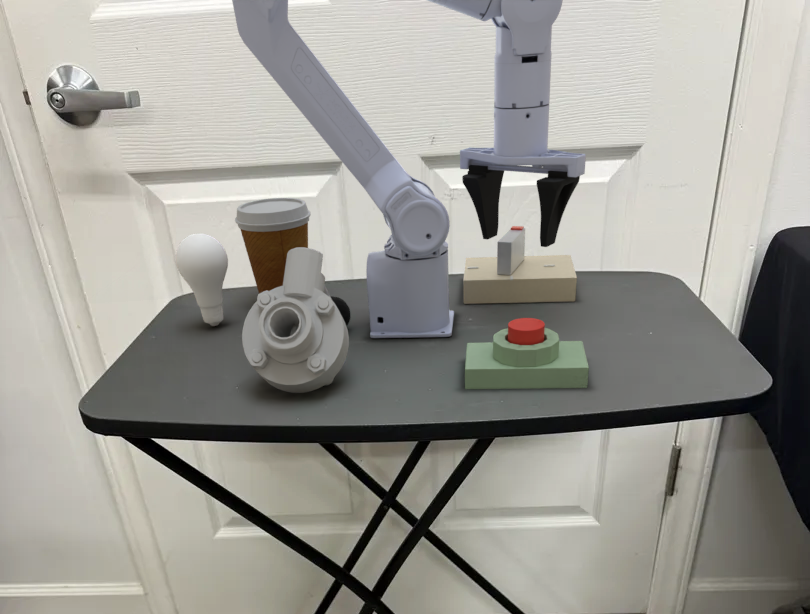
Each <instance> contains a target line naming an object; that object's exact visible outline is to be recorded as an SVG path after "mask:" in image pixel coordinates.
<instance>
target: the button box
mask: <svg viewBox="0 0 810 614" xmlns="http://www.w3.org/2000/svg"><path fill="white" fill-rule="evenodd" d="M492 337H493V338H492V342H466V350H465V362H464V363H465V364H464V389H465V390H507V389H508V390H509V389H511V390H512V389H513V390H514V389H515V390H516V389H517V390H518V389H519V390H521V389H523V390H524V389H587V388H588V384H589V383H588V382H589V370H590V367H589V362H588V357H587V354H586V350H585V346H584V342H583V340H565V341H564V340H560V335H559V334H558V333H557V332H555V331H554V330H552V329H550V328H547V327H545V331H544V342H543V343H539V344H535V345H517V344H512V343H509V342H508V327H507V328H502V329H500V330H499V331H497V332H496V333H494V334H493V335H492Z"/></svg>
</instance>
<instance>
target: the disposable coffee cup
mask: <svg viewBox="0 0 810 614" xmlns="http://www.w3.org/2000/svg"><path fill="white" fill-rule="evenodd" d="M310 217H311V211H310V210H309V209H308V205H307V202H306V201H305V200H304V199H301V198H295V197H271V198H262V199H255V200H252V201H247V202H245V203H241V204H240V205H238V206H237V207H236V217H234V222H235V223H236V224H237V227H238V228H239V229H240V232H241V236H242V239H243V243H244V247H245V251H246V254H247V257H248V260H249V264H250V267H251V270H252V274H253V278H254V281H255V285H256V288H257V292H258V294H260V293H262V292H263V291H266V290H267V291H270V290H272V289H274V288H276V287H280V286H283V280H284V273H285V266H286V259H287V253H288V251H289V250H291V249H294V248H297V247H305V248H309V221H310Z"/></svg>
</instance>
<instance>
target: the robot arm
mask: <svg viewBox="0 0 810 614" xmlns="http://www.w3.org/2000/svg"><path fill="white" fill-rule="evenodd" d="M426 1H427V2H431V3H432V4H435V5H439V6H441V7H443V8H447V9H449V10H452V11H455V12H457V13H460V14H463V15H464V16H468V17H470V18H474V19H476V20H480V21H481V22H487V21H489V20H491V22H492V24H493V25H494V26H495V53H494V60H493V61H494V66H493V68H494V72H493V74H494V75H493V78H494V79H493V82H494V83H493V84H494V85H493V87H494V88H493V95H494V96H493V101H494V102H493V147H466V148H463V149H460V150H459V168H460V170H468V171H467V174H463V175H462V177H461V178H462V179H461V180H462V185H463V186H464V187H465V189H466V191H467V192H468V195H469V197H470V199H471V201H472V203H473V206H474V208H475V212H476V216H477V218H478V222H479V227H480V230H481V235H482V239H483V240H490V239H492V238H494V237H497V236H498V232H499V218H500V217H499V213H500V212H499V209H500V207H499V206H500V197H501V196H500V195H501V189H502V183H503V179H504V173H505V172H516V173H517V172H518V173H529V174H530V173H531V174H542V175H543V174H544V175H547V176H545V177H541V178H540V179H537V180H536V189H537V193H538V199H539V210H540V224H539V225H540V226H539V227H540V228H539V242H540V247H542V248H548V247H550V246H552V245H554V244H555V243H556V240H557V236H558V231H559V227H560V226H561V225H560V224H561V221H562V218H563V215H564V213H565V210H566V207H567V205H568V203H569V201H570V199H571V197H572V195H573V193H574V190H575V189H576V187H577V186H578V184H579V183H580V178H581V176H583V175H585V174H586V173H585V172H586V160H587V159H586V158H587V157H586V156H587V154H586V153H579V152H578V153H577V152H569V151H563V150H557V149H550V148H548V147H549V146H548V144H549V124H550V123H549V121H550V100H551V99H550V98H551V77H552V76H551V73H552V54H553V53H552V35H553V34H552V33H553V24H554V23H555V22H556V20H557V19H558V17H559V16H560V15H559V14H560V12H561V9H562V5H563V0H426ZM231 2H232V6H233V13H234V17H235V18H234V19H235V22H236V27H237V32H238V35H239V37H240V38H241V40H242V42H243V44H244V45H245V46H246V47H247V49H248V50H249V51H250V52H251V54H252V55H253V56H254V57H255V58H256V60H257V61H258V62H259V63H260V64H261V65H262V67H263V68H264V70H265V71H266V72H267V73H268V74H269V76H271V78H272V79H273V81H274V82H276V84H277V85H278V86H279V87H280V88H281V90H282V91H283V93H285V95H286V96H287V97H288V98H289V99H290V101H291V102H292V103H293V104H294V105H295V107H296V108H297V109H298V110H299V111H300V113H301V114H302V115H303V117H304V118H305V119H306V120H307V121H308V123H309V124H310V125H311V126H312V127H313V128H314V130H315V131H316V132H317V133H318V135H319V136H320V137H321V138H322V139H323V141H324V142H325V143H326V145H328V147H329V148H330V149H331V150H332V152H333V153H334V154H335V155H336V157H337V158H338V159H339V161H341V163H342V164H343V165H344V166H345V167H346V169H347V170H348V171H349V172H350V174H352V176H353V177H354V178H355V179H356V181H357V182H358V183H359V184H360V185H361V187H362V188H363V189H364V191H365V192H366V193H367V195H368V196H369V197H370V199H371V200H372V201H373V203H374V204H375V206H376V207H377V209H378V210H379V211H380V212H381V213H382V216H383V219H384V221H385V224H386V226H387V227H388V229H389V230H390V233H391V234H390V235H389V237H388V239H387V241H386V243H384V246H383V250H378V251H369V253H368V254H367V256H366V257H367V258H366V271H365V272H366V273H365V275H366V290H367V303H368V316H369V327H370V333H369V338H371V339H402V338H404V339H410V338H413V339H414V338H449V337H451V336H452V334H453V328H454V319H455V311H454V310H452V309H451V310H450V282H449V281H450V280H449V279H450V278H449V277H450V276H449V274H450V273H449V243H448V242H447V241H446V240H447V239H448V235H449V232H450V226H451V225H450V222H451V221H450V216H449V213H448V210H447V209H446V207H445V204H443V203H442V201H441V200H439V199H438V197H436V195H435V193H434V191H433V190H432V188H431V187H430V186H429V185H428V184H427V183H425V182H424V181H422V180H421V179H417V178H414V177H413V176H411V174H409V173H408V172H407V171H406V170H405V168H404V167H403V165H402V164H401V163H400V162H399V161H398V159H397V158H396V156H394V155H393V153H392V152H391V151H390V150H389V148H388V147H387V145H386V144H385V143H384V141H383V140H382V139H381V138H380V137H379V135H378V134H377V133H376V131H375V130H374V128H372V126H371V125H370V124H369V122H368V121H367V120H366V119H365V118H364V116H363V115H362V113H361V112H360V111H359V110H358V108H357V107H356V105H354V104H353V102H352V101H351V99H350V98H349V97H348V96H347V94H346V93H345V92H344V91H343V89H342V88H341V87H340V86H339V84H338V83H337V82H336V80H335V79H334V78H333V76H332V75H331V74H330V73H329V72H328V69H326V68H325V66H324V65H323V64H322V63H321V61H320V60H319V59H318V57H317V56H316V55H315V54H314V52H313V51H312V50H311V48H310V47H309V46H308V45H307V44H306V43H307V42H305V41H304V39H303V38H302V37H301V36H300V34H299V33H298V32H297V31H296V29H295V28H294V27H293V26H292V24H291V23H290V21H289V16H288V15H289V0H231Z"/></svg>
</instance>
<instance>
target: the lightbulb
mask: <svg viewBox="0 0 810 614" xmlns="http://www.w3.org/2000/svg"><path fill="white" fill-rule="evenodd" d="M174 257H175V259H174V260H175V261H174V262H175V265H176V269H177V271H178V274H180V276H181V277H182V279H183V281H185V282H186V284H187V285H188V286H189V287H190V289H191V291H192V293H193V295H194V297H195V300H196V304H197V307H199V309H200V314H201V316H202V320H203V322H204V323H206V324H208V325H210V326H211V327H215V326H218V325H220V323H221V322H223V320H224V317H225V316H224V309H223V303H224V298H223V297H224V296H223V288H224V287H223V286H224V281H225V279H226V275H227V271H228V268H229V258H228V257H229V256H228V254H227V251H226V249H225V247H224V246H223V244H222V243H221V242H220V241H219V240H218V239H217V238H215V237H214V236H213V235H210V234H207V233H202V232H201V233H200V232H197V233H192V234H188V235H187V236H186V237H184V238H183V239H182V240H181V241H180V242H179V244H178V245H177V247H176V251H175V256H174Z"/></svg>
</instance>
